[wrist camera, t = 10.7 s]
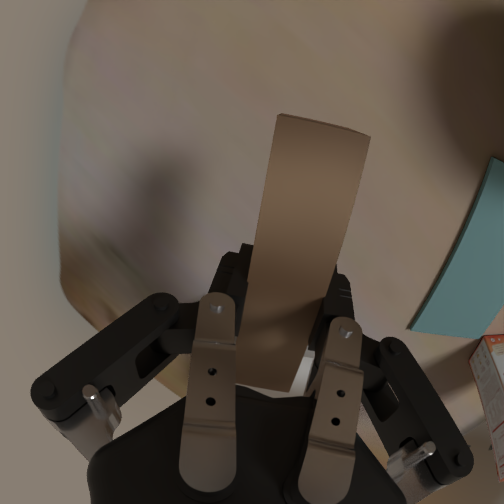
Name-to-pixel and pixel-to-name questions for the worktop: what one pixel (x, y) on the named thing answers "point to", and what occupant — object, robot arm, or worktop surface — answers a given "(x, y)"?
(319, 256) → the tall cardboard-brown block
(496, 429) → the cracker box
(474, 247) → the mat
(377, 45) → the worktop surface
